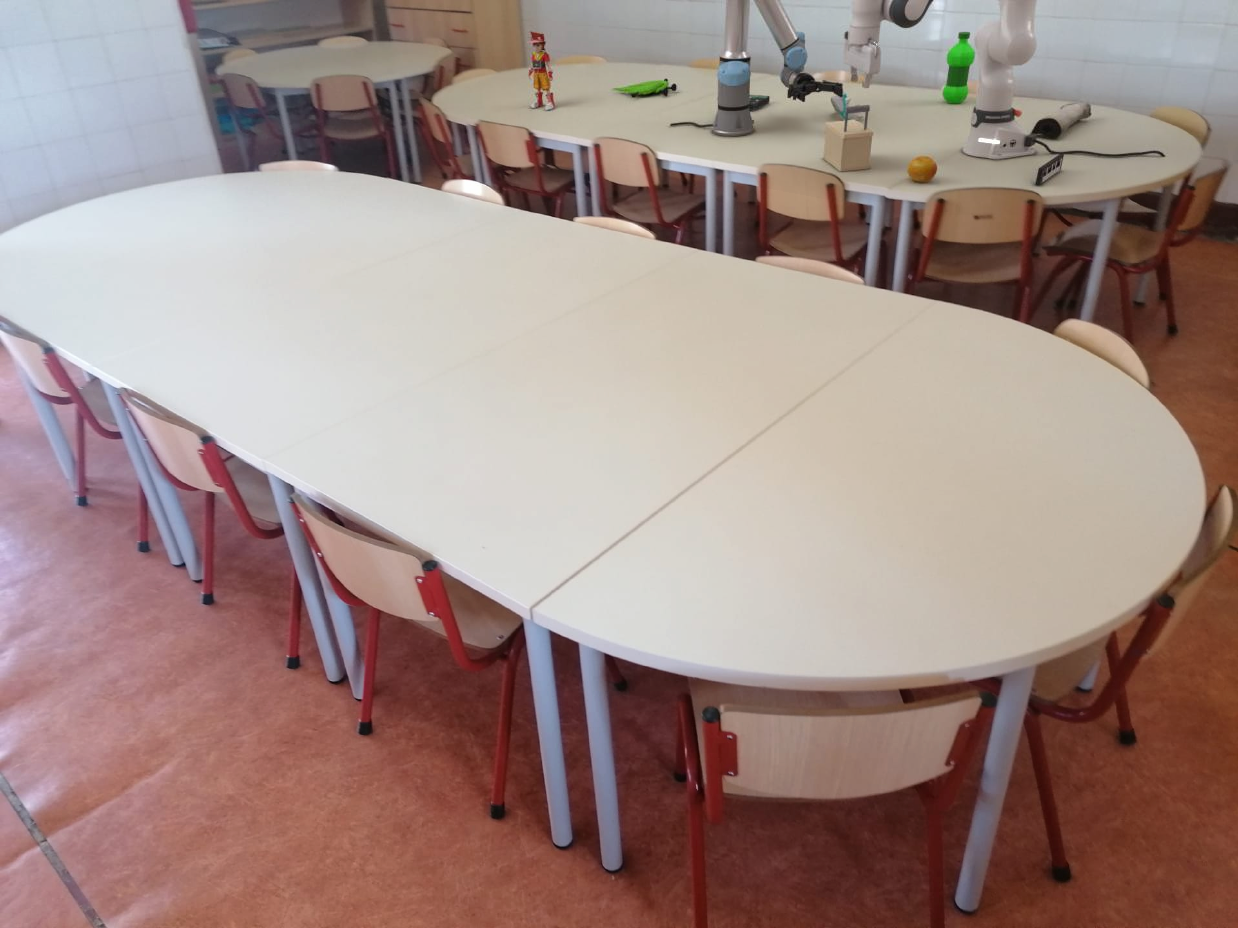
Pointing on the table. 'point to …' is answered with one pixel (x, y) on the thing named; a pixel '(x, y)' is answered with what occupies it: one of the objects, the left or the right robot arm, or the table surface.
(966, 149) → the right robot arm
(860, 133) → the lid
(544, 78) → the toy
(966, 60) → the plastic bottle
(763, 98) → the disk drive
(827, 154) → the chest
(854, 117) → the anatomical model
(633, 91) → the toy
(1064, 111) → the rolled mat
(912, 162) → the fruit
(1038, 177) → the midi keyboard
